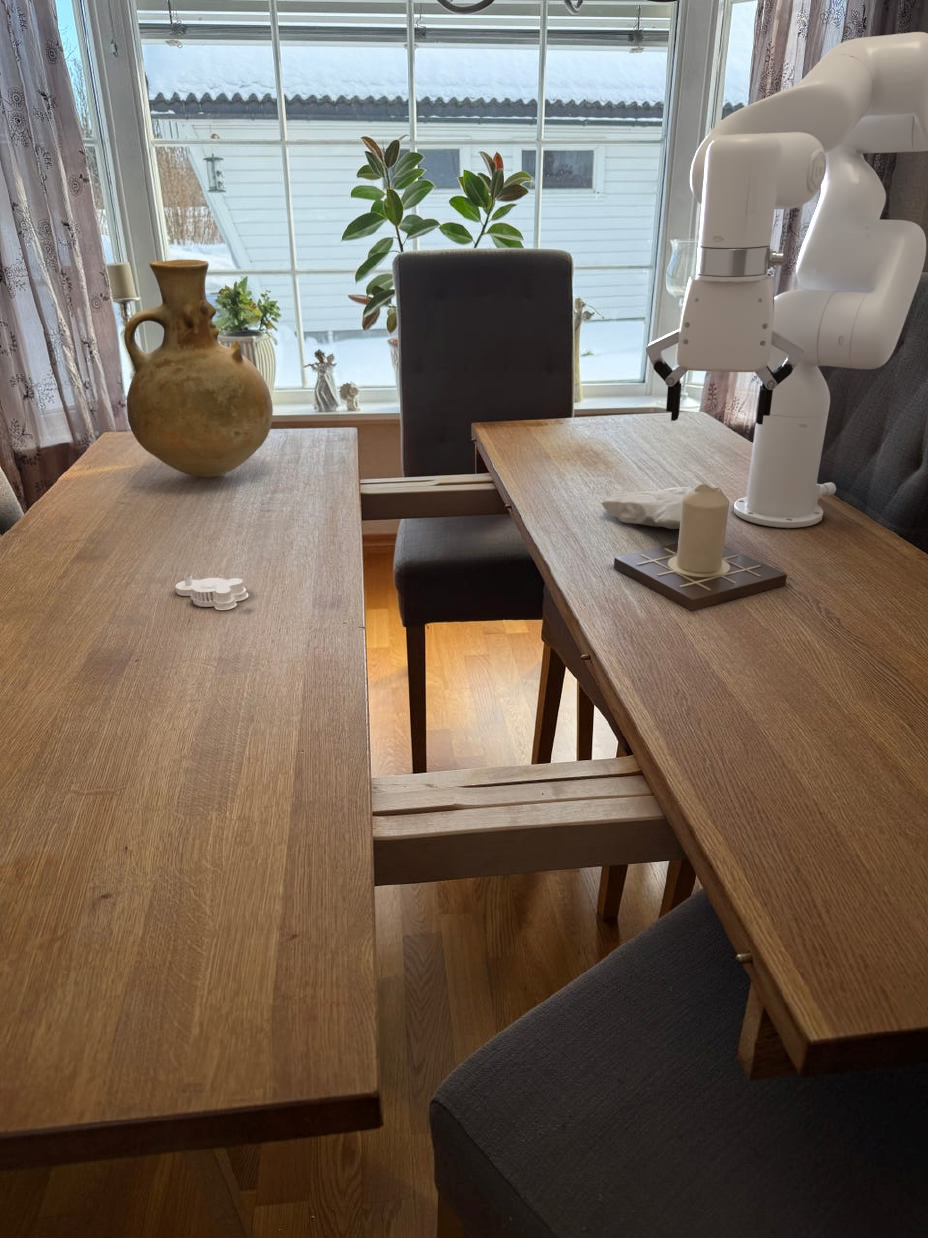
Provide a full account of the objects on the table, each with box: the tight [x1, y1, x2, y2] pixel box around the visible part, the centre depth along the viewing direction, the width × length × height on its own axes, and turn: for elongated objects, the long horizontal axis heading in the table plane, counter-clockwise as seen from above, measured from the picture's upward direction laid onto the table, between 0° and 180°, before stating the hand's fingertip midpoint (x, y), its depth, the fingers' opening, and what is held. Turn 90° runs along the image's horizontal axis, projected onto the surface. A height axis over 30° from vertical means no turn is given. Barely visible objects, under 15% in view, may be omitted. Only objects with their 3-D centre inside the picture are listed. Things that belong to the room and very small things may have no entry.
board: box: [613, 542, 788, 612], centre depth 111 cm, size 15×15×2 cm
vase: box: [123, 258, 274, 478], centre depth 148 cm, size 24×24×35 cm
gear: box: [175, 574, 250, 611], centre depth 107 cm, size 9×9×2 cm
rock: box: [601, 486, 695, 530], centre depth 129 cm, size 21×5×15 cm
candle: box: [677, 483, 730, 573], centre depth 109 cm, size 6×6×10 cm
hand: (716, 419), depth 104 cm, fingers open, 9 cm apart
